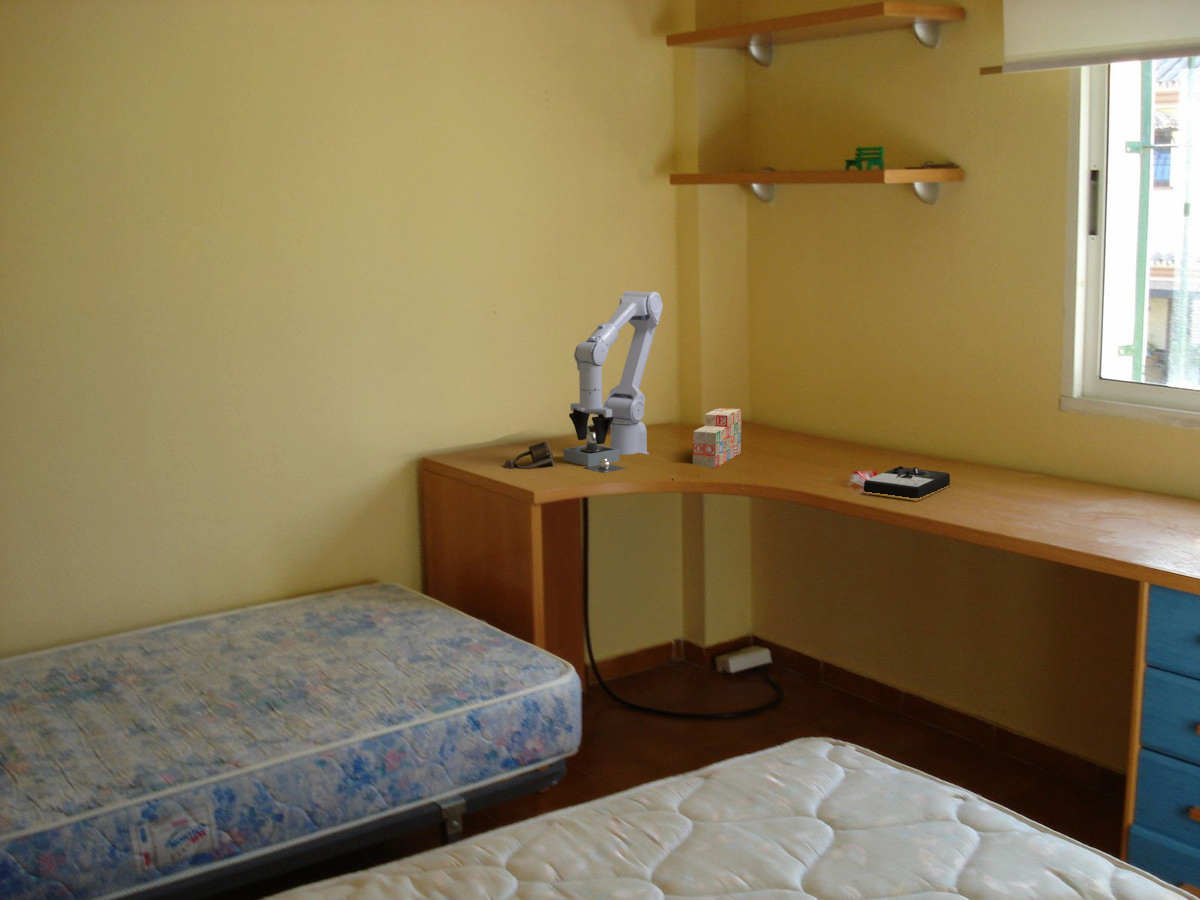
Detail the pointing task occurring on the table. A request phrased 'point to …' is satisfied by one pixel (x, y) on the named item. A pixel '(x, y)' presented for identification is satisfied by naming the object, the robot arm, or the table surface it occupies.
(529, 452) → the dark brown handled cylinder
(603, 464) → the stud mount
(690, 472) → the table surface
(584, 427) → the robot arm
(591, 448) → the dark grey stepped cylinder
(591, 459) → the bin
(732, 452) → the stack of blocks
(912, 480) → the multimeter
